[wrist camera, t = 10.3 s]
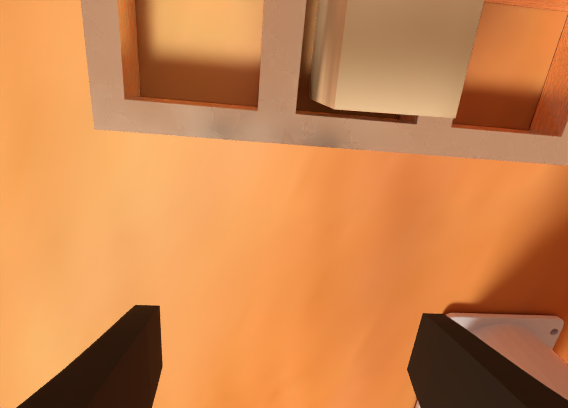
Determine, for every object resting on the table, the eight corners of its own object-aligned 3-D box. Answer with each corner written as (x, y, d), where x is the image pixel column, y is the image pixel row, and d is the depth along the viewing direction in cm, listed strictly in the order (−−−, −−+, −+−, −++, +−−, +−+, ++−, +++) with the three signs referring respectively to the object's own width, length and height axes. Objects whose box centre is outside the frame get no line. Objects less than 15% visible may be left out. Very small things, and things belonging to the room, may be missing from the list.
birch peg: (388, 104, 16) (455, 118, 11) (308, 97, 16) (334, 109, 11) (405, 11, 15) (491, -27, 10) (317, 2, 15) (352, -43, 9)
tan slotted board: (543, 156, 18) (576, 166, 16) (113, 123, 16) (94, 129, 14) (606, -18, 15) (654, -31, 13) (95, -87, 13) (69, -114, 11)
